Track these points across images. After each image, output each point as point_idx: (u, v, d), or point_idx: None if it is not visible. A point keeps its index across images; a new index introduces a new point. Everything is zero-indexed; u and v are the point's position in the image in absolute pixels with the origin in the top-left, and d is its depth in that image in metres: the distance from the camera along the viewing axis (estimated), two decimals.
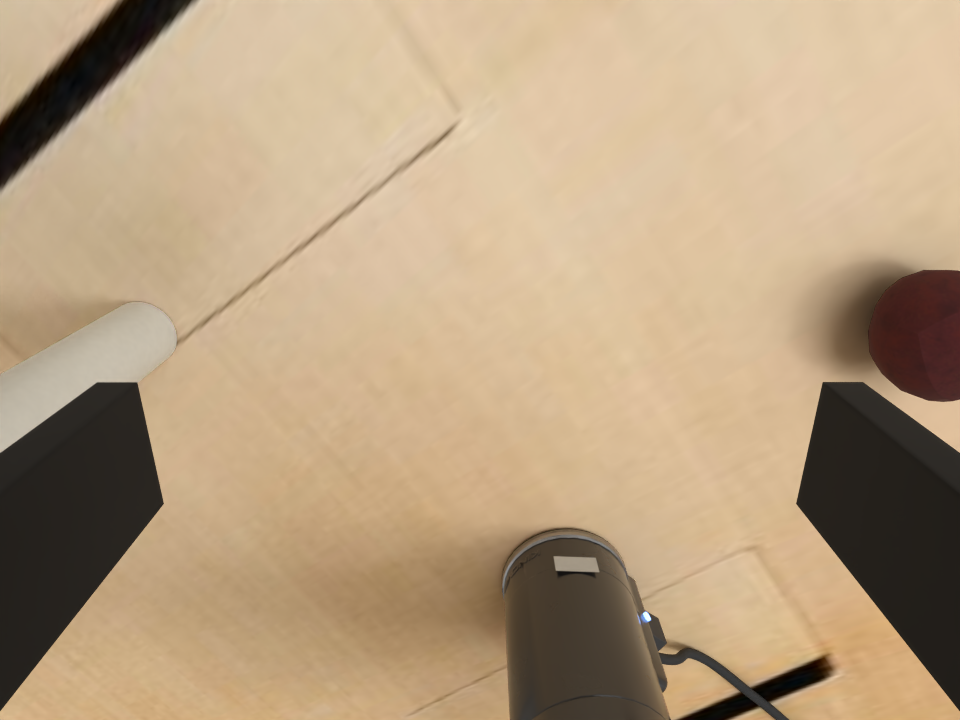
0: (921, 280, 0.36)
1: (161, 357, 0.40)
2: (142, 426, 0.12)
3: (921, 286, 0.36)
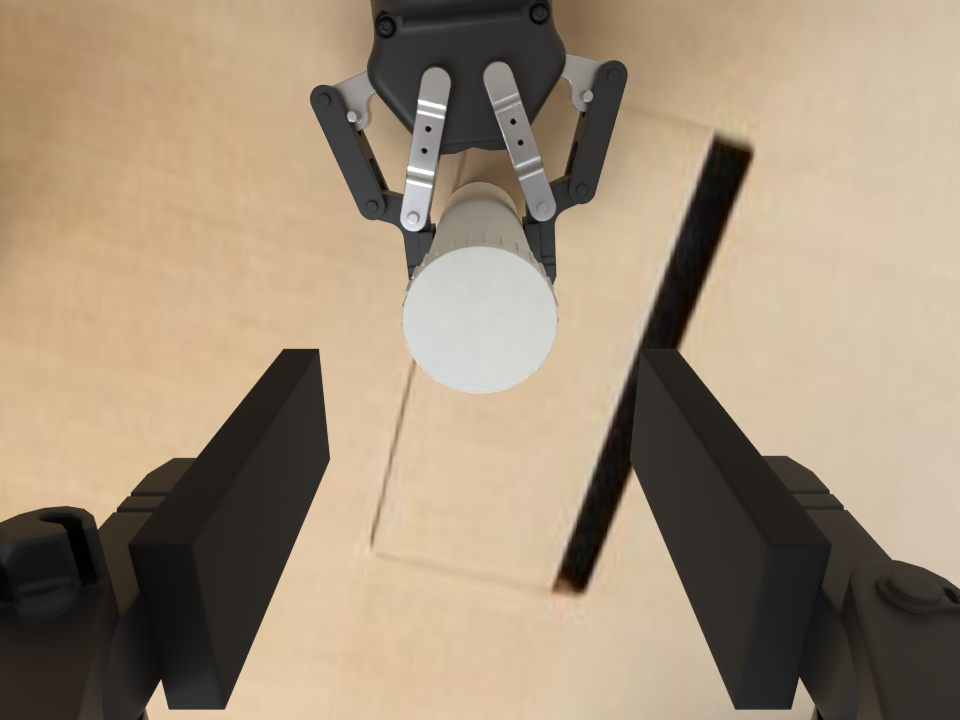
0: None
1: None
2: (321, 388, 0.14)
3: None
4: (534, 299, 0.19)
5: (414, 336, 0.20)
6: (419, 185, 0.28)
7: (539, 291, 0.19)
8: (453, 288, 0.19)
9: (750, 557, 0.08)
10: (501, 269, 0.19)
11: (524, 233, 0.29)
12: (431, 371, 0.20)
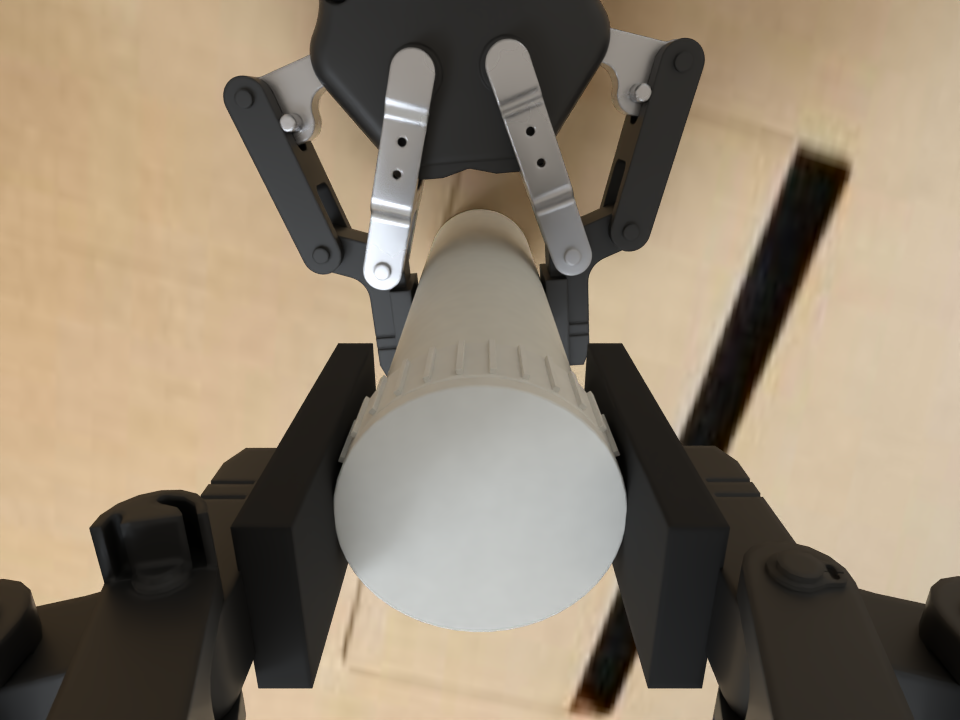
0: None
1: None
2: (374, 381, 0.14)
3: None
4: (584, 480, 0.10)
5: (357, 541, 0.10)
6: (390, 224, 0.19)
7: (594, 465, 0.10)
8: (429, 460, 0.10)
9: (657, 541, 0.08)
10: (522, 427, 0.10)
11: (545, 294, 0.20)
12: (390, 598, 0.11)
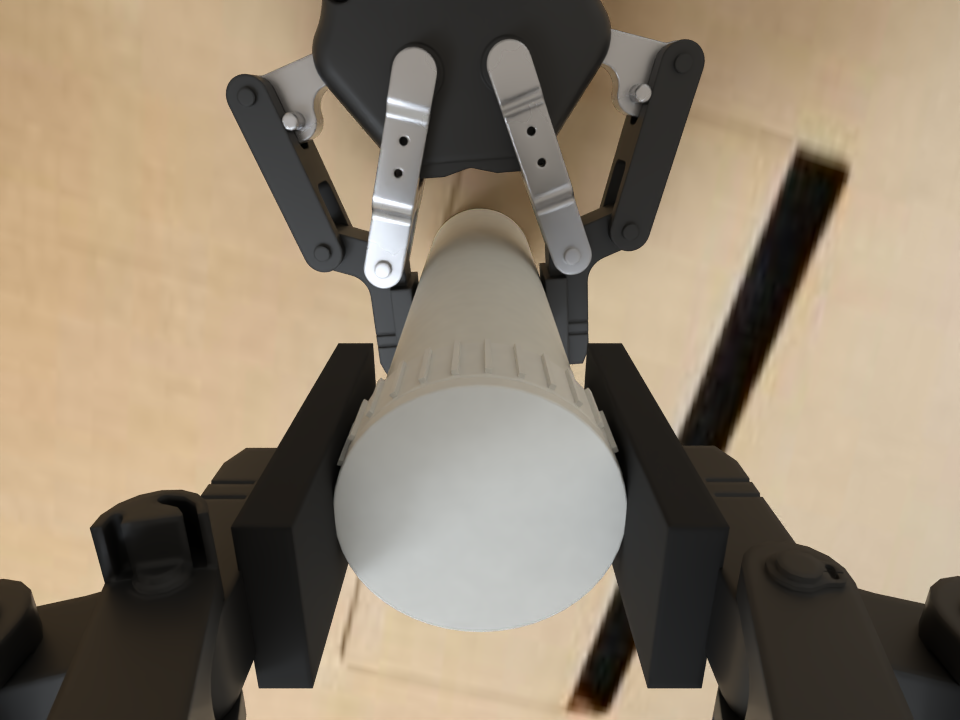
0: None
1: None
2: (374, 382, 0.14)
3: None
4: (412, 439, 0.10)
5: (526, 612, 0.11)
6: (391, 223, 0.19)
7: (393, 433, 0.10)
8: (424, 569, 0.11)
9: (657, 540, 0.08)
10: (369, 504, 0.10)
11: None
12: (590, 579, 0.11)
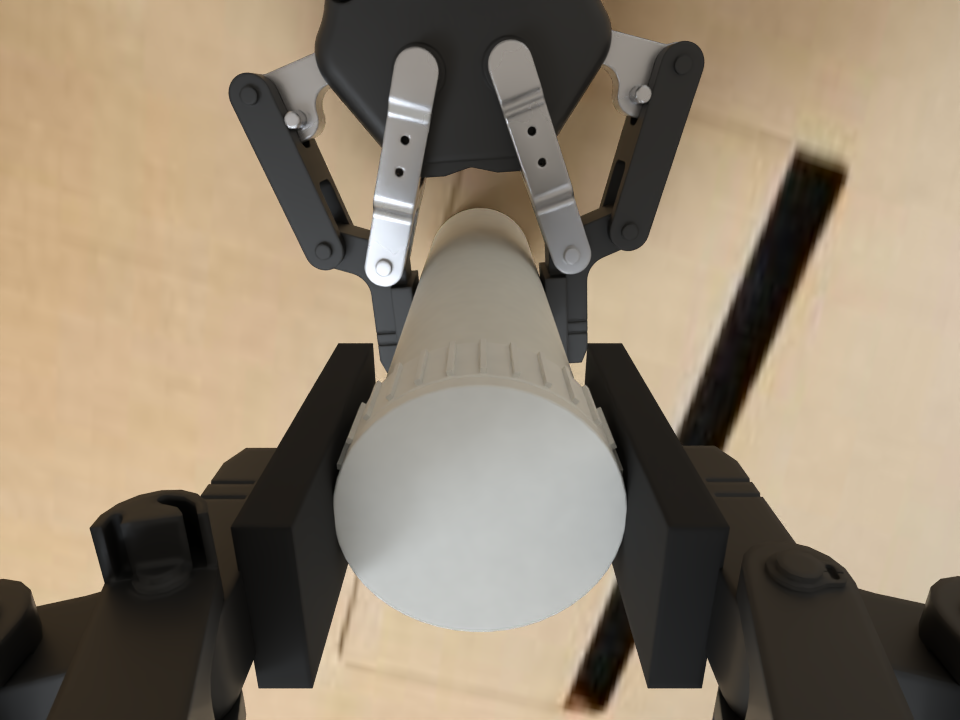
0: None
1: None
2: (374, 381, 0.14)
3: None
4: (405, 584, 0.11)
5: (590, 458, 0.10)
6: (392, 221, 0.19)
7: (405, 597, 0.11)
8: (549, 556, 0.11)
9: (657, 540, 0.08)
10: (482, 607, 0.11)
11: None
12: (534, 406, 0.09)
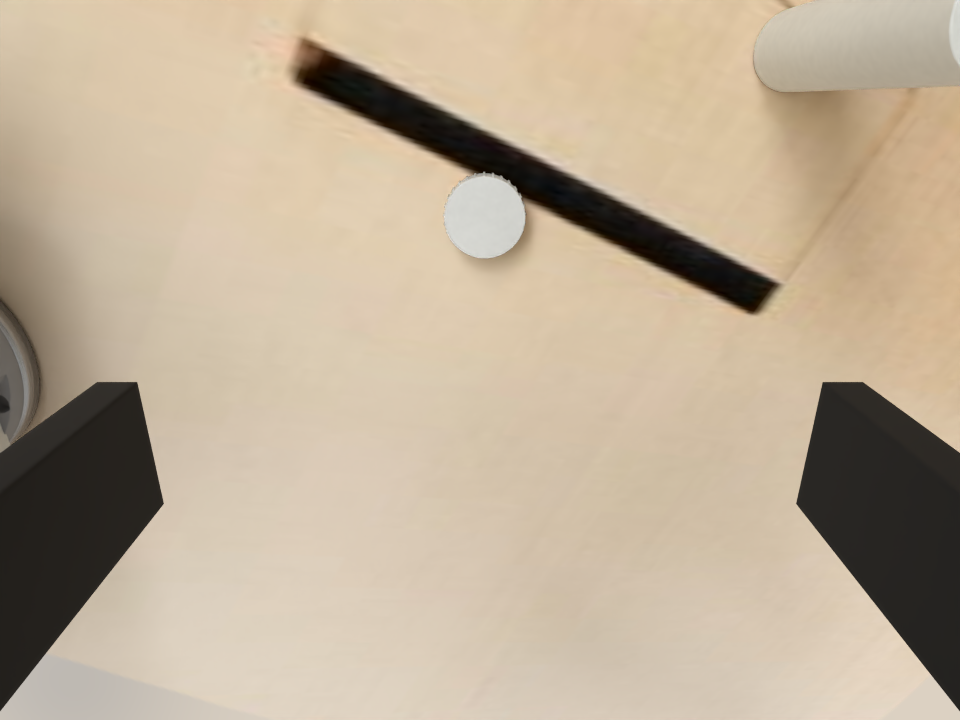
0: None
1: None
2: (141, 426, 0.12)
3: None
4: (510, 235, 0.38)
5: (459, 193, 0.37)
6: None
7: (515, 234, 0.38)
8: (493, 196, 0.37)
9: None
10: (514, 211, 0.37)
11: None
12: (447, 211, 0.37)
